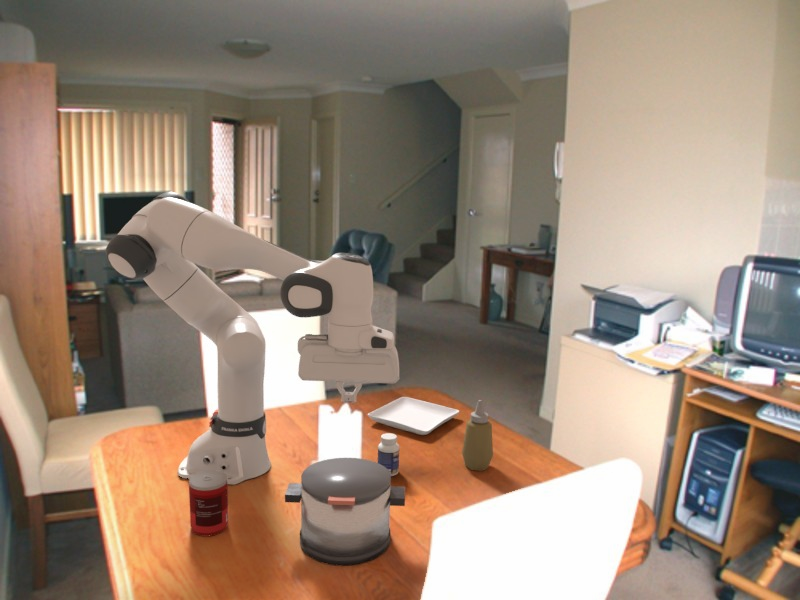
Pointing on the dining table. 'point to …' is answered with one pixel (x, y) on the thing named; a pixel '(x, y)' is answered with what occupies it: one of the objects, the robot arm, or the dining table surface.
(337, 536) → the cooker pot
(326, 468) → the cooker lid
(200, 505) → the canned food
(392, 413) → the salad plate
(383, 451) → the pill bottle
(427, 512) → the dining table surface
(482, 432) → the squeeze bottle
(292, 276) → the robot arm
